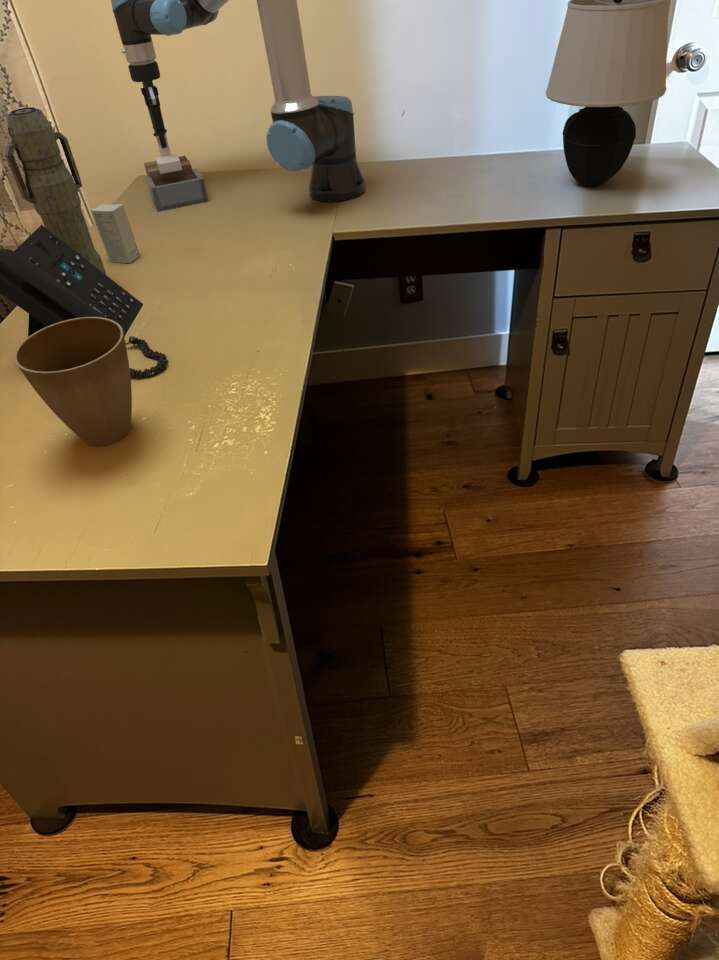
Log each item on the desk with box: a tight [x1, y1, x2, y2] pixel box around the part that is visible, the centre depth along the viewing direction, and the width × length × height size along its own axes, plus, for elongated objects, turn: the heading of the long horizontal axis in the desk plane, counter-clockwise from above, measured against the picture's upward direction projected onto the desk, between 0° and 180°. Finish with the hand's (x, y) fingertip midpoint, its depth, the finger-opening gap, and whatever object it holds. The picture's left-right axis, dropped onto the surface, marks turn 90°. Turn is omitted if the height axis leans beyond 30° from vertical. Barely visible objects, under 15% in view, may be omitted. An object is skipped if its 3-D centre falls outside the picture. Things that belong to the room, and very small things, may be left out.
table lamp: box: [545, 0, 670, 187], centre depth 156 cm, size 27×27×40 cm
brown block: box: [143, 155, 194, 187], centre depth 190 cm, size 10×12×7 cm
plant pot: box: [13, 317, 133, 447], centre depth 98 cm, size 15×15×16 cm
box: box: [146, 167, 209, 212], centre depth 182 cm, size 11×14×6 cm
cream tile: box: [154, 153, 182, 174], centre depth 183 cm, size 6×6×2 cm
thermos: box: [4, 106, 107, 275], centre depth 133 cm, size 9×12×35 cm
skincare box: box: [90, 203, 141, 264], centre depth 151 cm, size 6×4×12 cm
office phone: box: [0, 224, 169, 379], centre depth 119 cm, size 29×28×20 cm
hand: (166, 159), depth 186 cm, fingers closed
